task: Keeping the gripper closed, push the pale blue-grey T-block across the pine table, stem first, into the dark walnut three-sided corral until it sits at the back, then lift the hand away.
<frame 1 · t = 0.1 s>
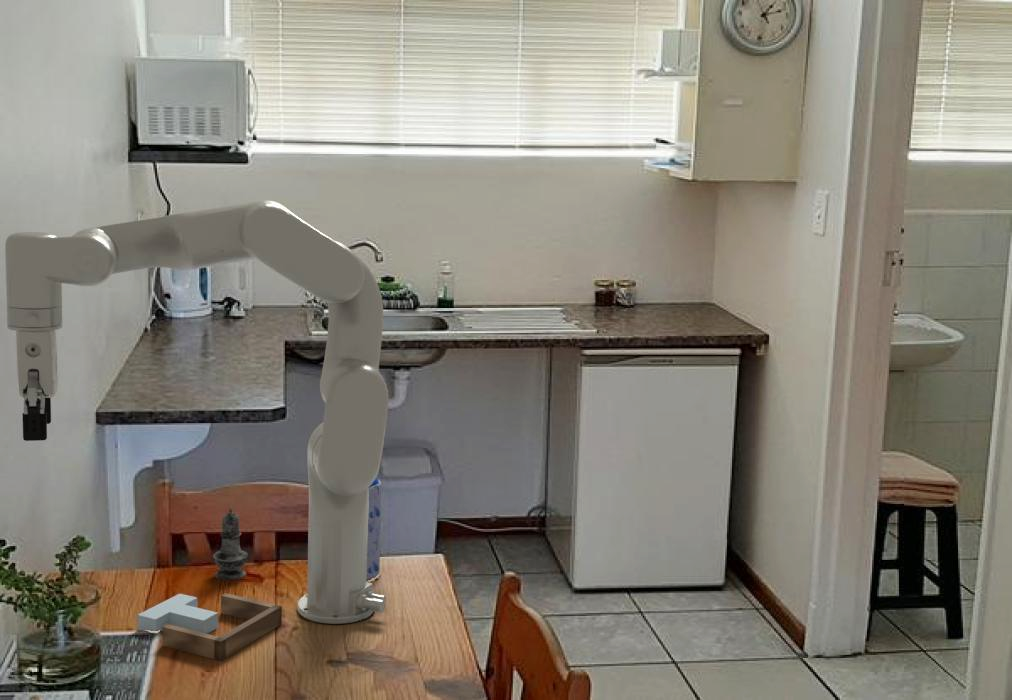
hand: (37, 431, 183), 31 cm above the table, tool pointing down, fingers open, 9 cm apart
corral: (216, 632, 190), on the table
aerosol can: (357, 576, 216), on the table
t block: (184, 625, 192), on the table
grey stone statue: (230, 575, 214), on the table
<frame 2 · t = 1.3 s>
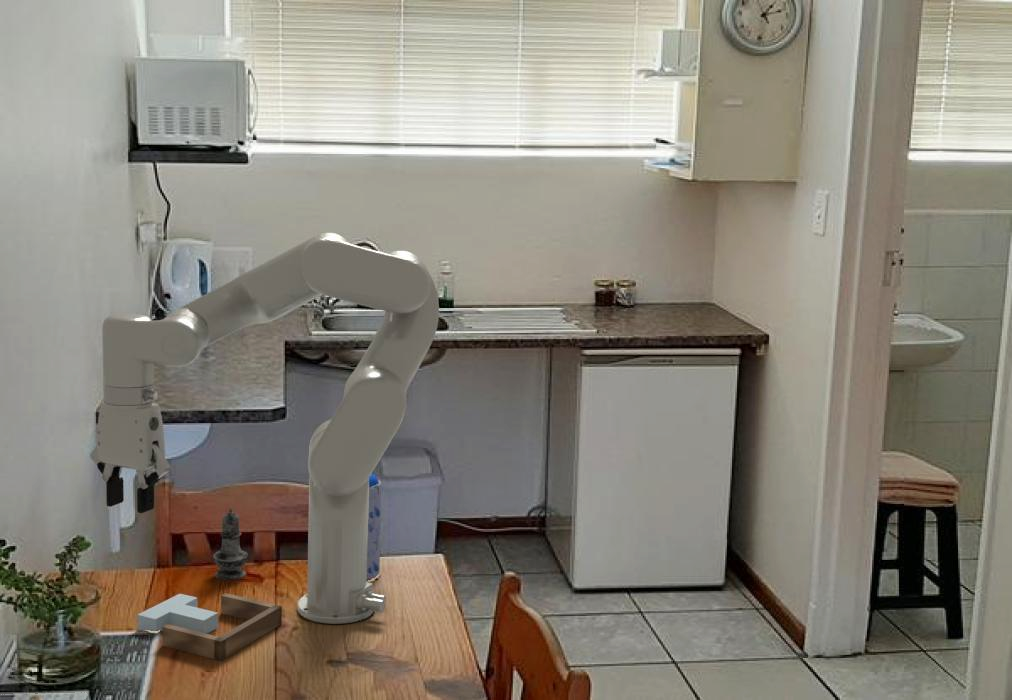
hand: (130, 506, 193), 17 cm above the table, tool pointing down, fingers open, 5 cm apart
nothing on the table moved.
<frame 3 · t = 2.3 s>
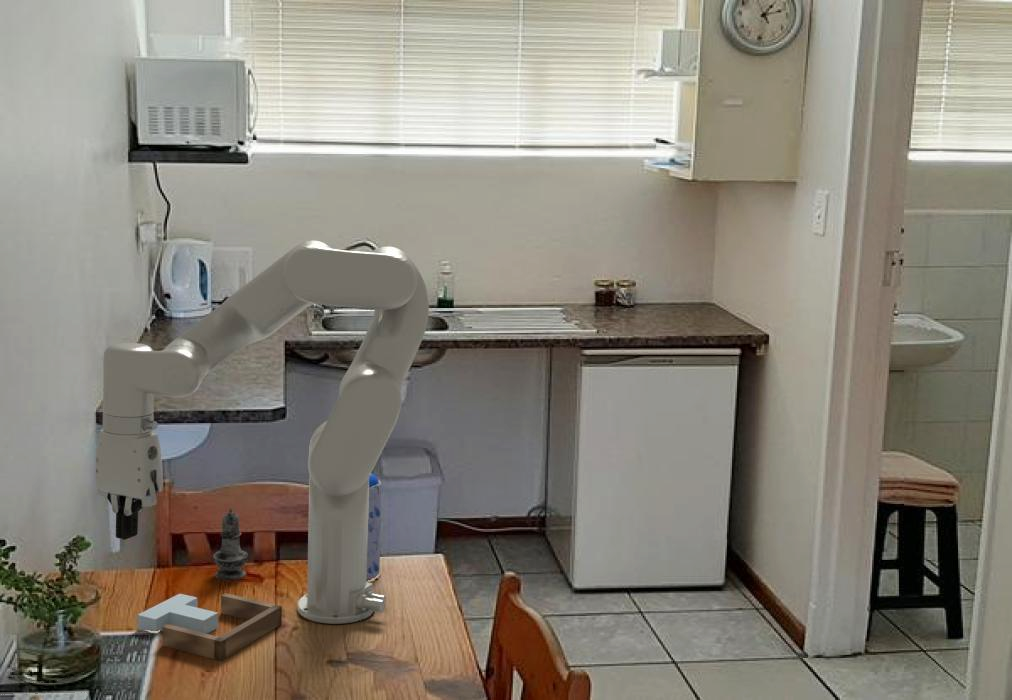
hand: (126, 536, 194), 13 cm above the table, tool pointing down, fingers closed
nothing on the table moved.
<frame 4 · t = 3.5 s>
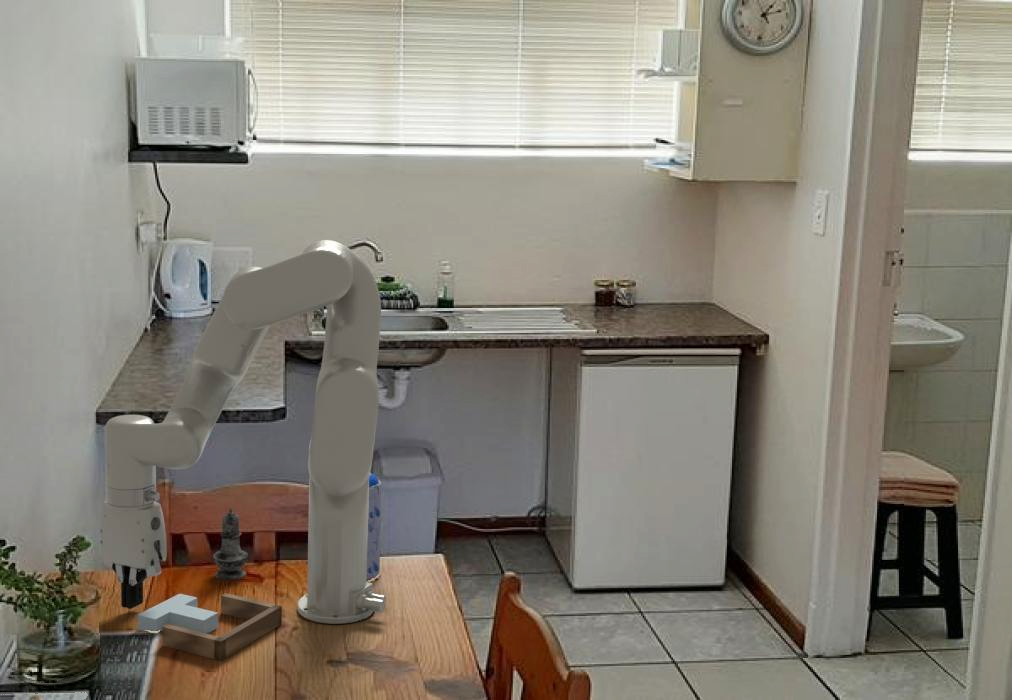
hand: (132, 605, 196), 1 cm above the table, tool pointing down, fingers closed
nothing on the table moved.
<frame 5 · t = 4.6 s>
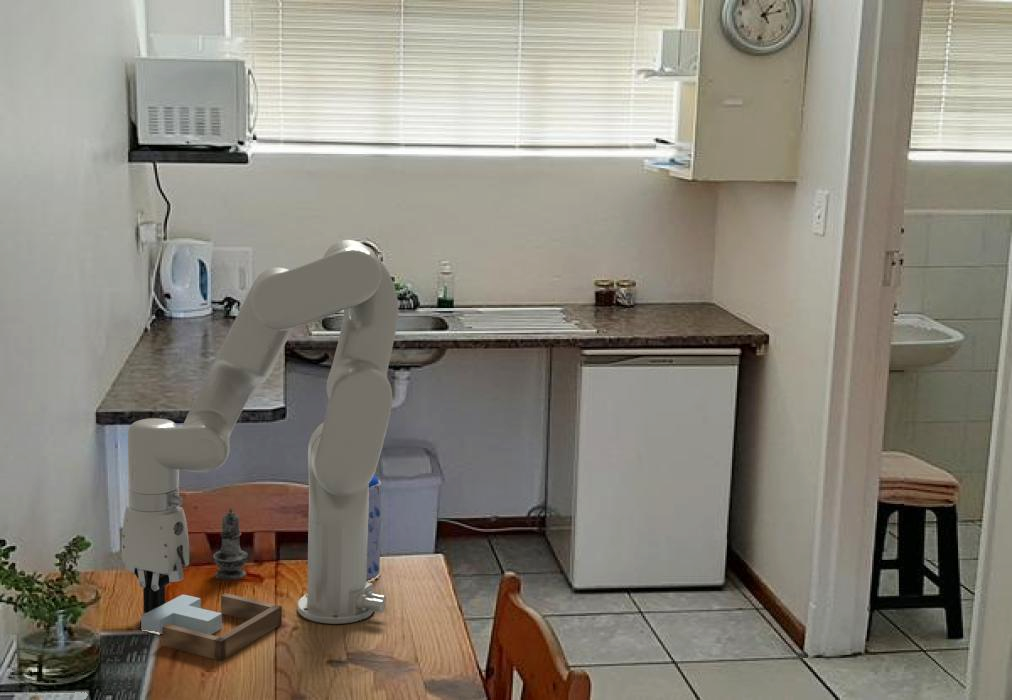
hand: (154, 610, 194), 1 cm above the table, tool pointing down, fingers closed
t block: (188, 626, 192), on the table, touching gripper
everything else where it was.
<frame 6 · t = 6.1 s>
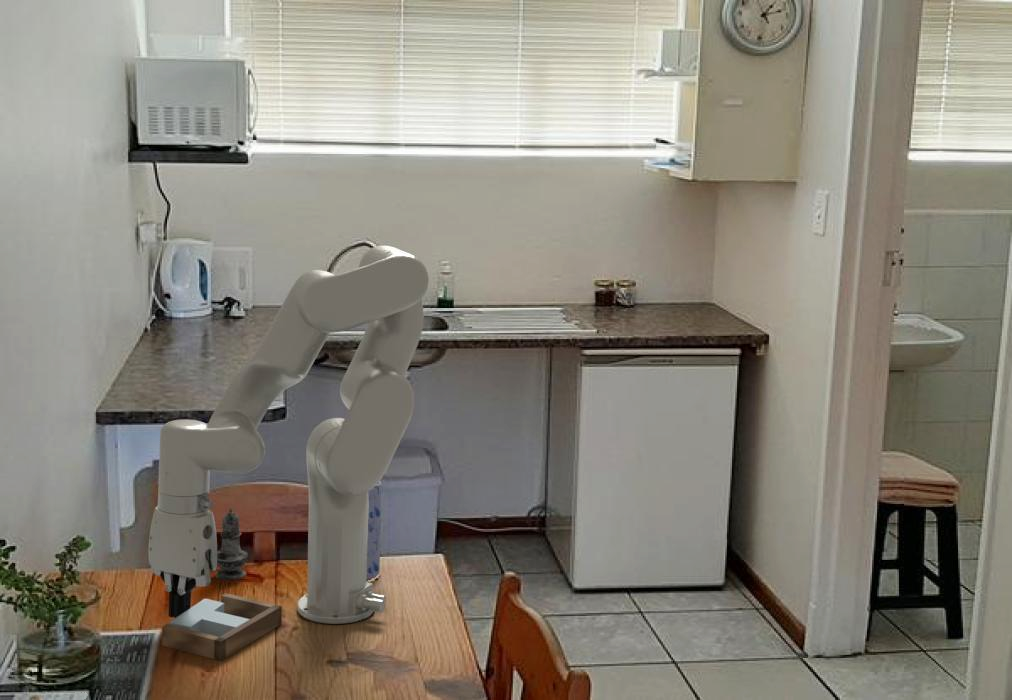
hand: (179, 615, 191), 2 cm above the table, tool pointing down, fingers closed
t block: (215, 632, 189), on the table, touching corral, gripper
everything else where it was.
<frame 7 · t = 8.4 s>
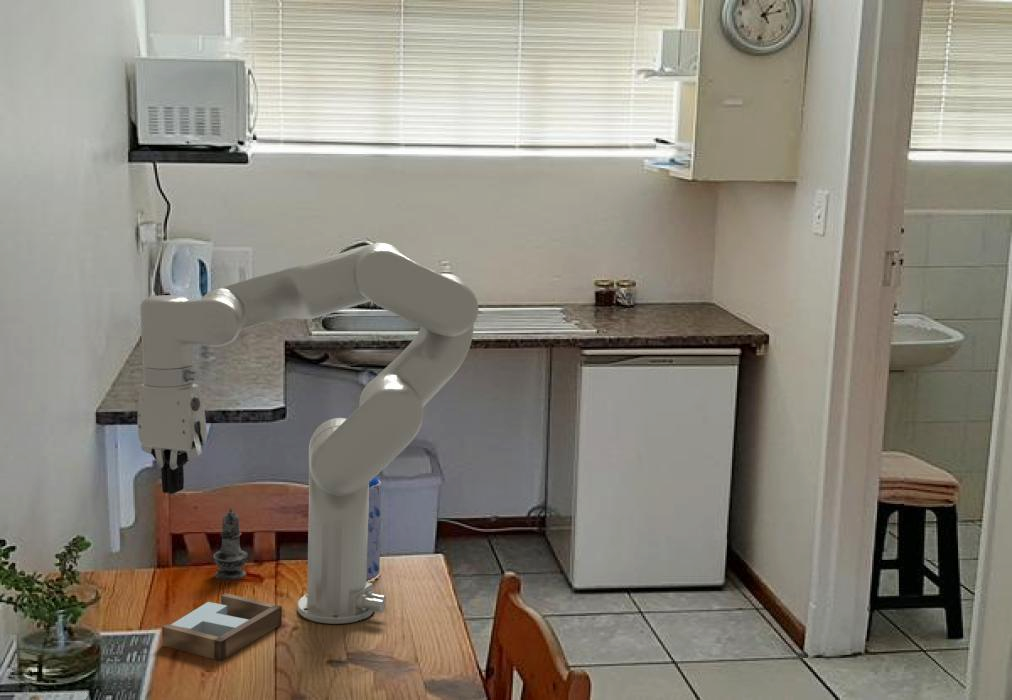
hand: (173, 490, 193), 20 cm above the table, tool pointing down, fingers closed
t block: (217, 633, 189), on the table
everything else where it was.
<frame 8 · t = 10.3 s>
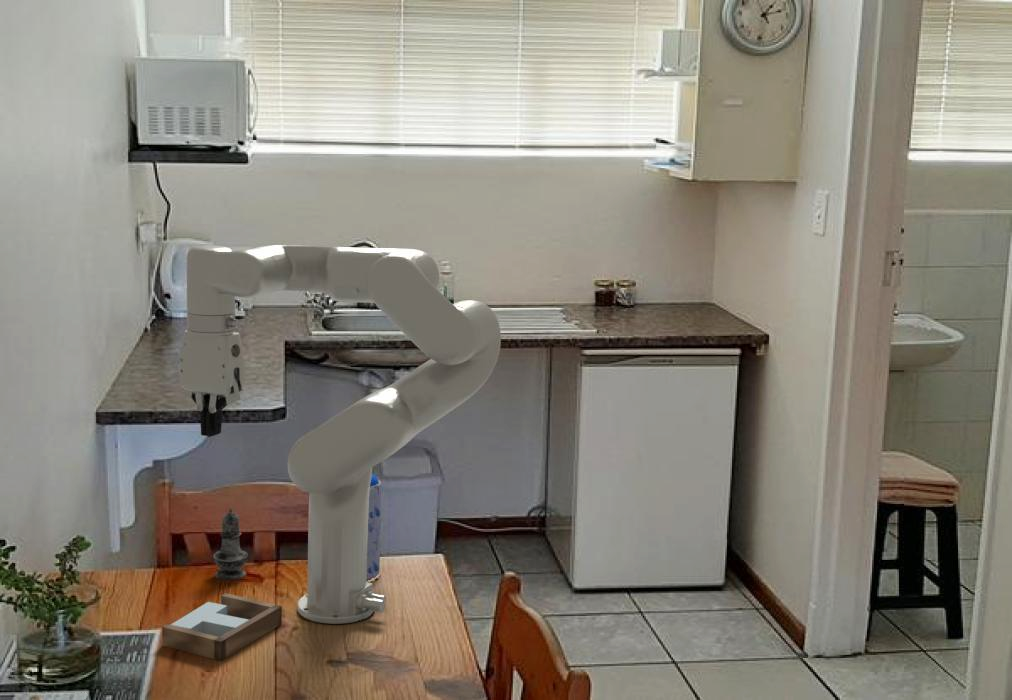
hand: (211, 434, 201), 27 cm above the table, tool pointing down, fingers closed
nothing on the table moved.
at the end: t block 0.3 cm off-centre on the corral, point 0.0 cm above the corral's base; t block moved 6.3 cm from its start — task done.
